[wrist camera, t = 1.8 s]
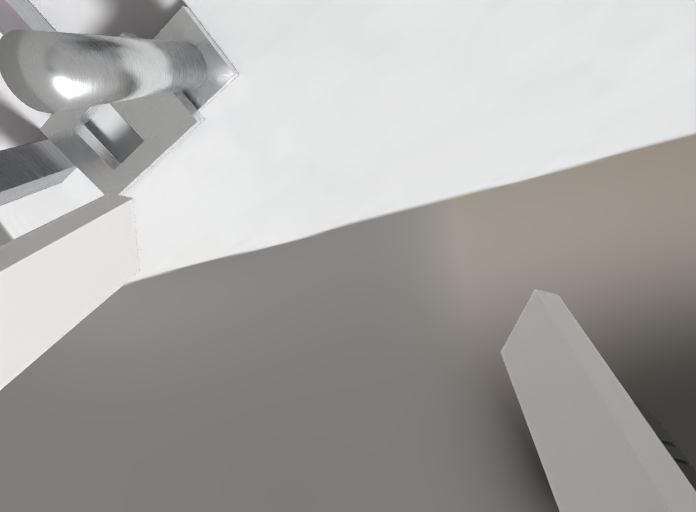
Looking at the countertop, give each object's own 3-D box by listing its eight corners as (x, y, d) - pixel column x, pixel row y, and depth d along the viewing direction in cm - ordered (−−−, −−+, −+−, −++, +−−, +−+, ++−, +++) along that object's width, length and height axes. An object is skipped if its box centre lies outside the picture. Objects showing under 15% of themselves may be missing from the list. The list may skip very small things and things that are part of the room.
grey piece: (-11, 47, 33) (-310, 39, 19) (98, -112, 27) (-222, -297, 13) (130, 190, 38) (-21, 268, 24) (247, 85, 32) (136, 106, 18)
